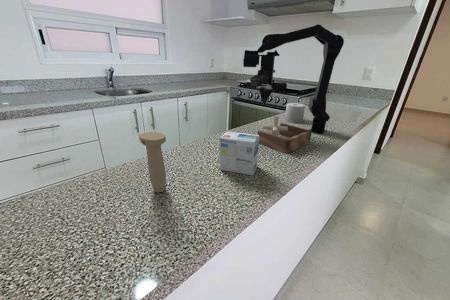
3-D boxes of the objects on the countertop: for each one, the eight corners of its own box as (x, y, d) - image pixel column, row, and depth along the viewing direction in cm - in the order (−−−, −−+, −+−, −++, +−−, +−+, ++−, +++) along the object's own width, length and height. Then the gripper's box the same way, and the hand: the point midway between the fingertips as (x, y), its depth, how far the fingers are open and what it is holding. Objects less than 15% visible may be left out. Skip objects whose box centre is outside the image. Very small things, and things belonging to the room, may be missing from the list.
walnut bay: (280, 133, 96) (281, 123, 94) (309, 142, 86) (311, 130, 84) (256, 142, 86) (257, 130, 84) (286, 153, 76) (288, 140, 74)
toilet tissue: (295, 116, 125) (298, 101, 121) (305, 122, 112) (307, 106, 109) (280, 116, 124) (282, 101, 121) (288, 122, 112) (290, 106, 108)
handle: (160, 199, 52) (152, 141, 46) (144, 190, 55) (134, 136, 49) (175, 189, 55) (169, 135, 49) (159, 182, 59) (151, 130, 53)
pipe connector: (286, 144, 84) (290, 120, 80) (261, 142, 86) (263, 118, 82) (284, 136, 93) (287, 114, 89) (261, 134, 95) (264, 112, 91)
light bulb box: (257, 166, 68) (260, 134, 63) (253, 176, 62) (255, 142, 57) (226, 160, 71) (226, 130, 66) (219, 170, 65) (218, 137, 61)
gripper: (238, 67, 93) (237, 102, 100) (273, 69, 81) (269, 109, 87) (255, 66, 100) (253, 99, 107) (289, 68, 87) (285, 106, 94)
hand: (264, 103), depth 98 cm, fingers closed
